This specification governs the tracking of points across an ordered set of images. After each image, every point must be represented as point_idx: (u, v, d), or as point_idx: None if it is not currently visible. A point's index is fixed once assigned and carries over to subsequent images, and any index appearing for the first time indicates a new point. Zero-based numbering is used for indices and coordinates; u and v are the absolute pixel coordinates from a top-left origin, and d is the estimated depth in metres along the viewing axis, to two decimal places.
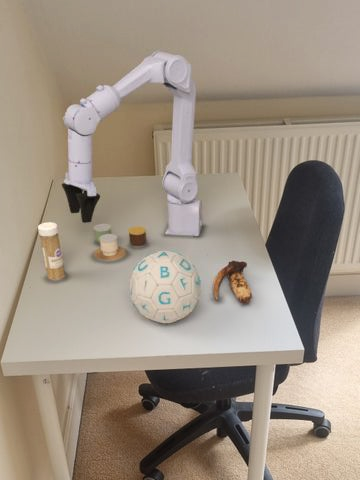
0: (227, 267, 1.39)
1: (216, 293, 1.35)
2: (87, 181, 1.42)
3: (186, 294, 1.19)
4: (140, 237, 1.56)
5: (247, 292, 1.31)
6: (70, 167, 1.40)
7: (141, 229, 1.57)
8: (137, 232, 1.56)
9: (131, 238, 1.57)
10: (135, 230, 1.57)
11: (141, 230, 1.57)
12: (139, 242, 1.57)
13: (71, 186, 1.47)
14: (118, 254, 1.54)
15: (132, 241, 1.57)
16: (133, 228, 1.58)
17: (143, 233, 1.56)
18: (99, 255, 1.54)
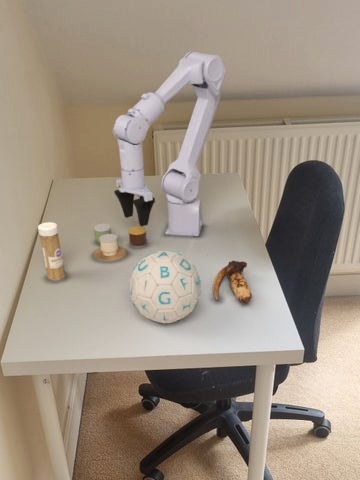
0: (227, 267, 1.39)
1: (216, 293, 1.35)
2: (141, 186, 1.48)
3: (186, 294, 1.19)
4: (140, 237, 1.56)
5: (247, 292, 1.31)
6: (124, 176, 1.46)
7: (141, 229, 1.57)
8: (137, 232, 1.56)
9: (131, 238, 1.57)
10: (135, 230, 1.57)
11: (141, 230, 1.57)
12: (139, 242, 1.57)
13: (124, 192, 1.53)
14: (118, 254, 1.54)
15: (132, 241, 1.57)
16: (133, 228, 1.58)
17: (143, 233, 1.56)
18: (99, 255, 1.54)
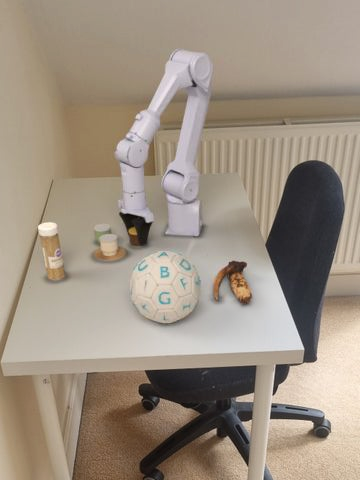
0: (227, 267, 1.39)
1: (216, 293, 1.35)
2: (143, 208, 1.51)
3: (186, 294, 1.19)
4: None
5: (247, 292, 1.31)
6: (126, 197, 1.50)
7: None
8: None
9: (131, 238, 1.57)
10: (135, 230, 1.57)
11: None
12: None
13: (128, 214, 1.56)
14: (118, 254, 1.54)
15: (132, 241, 1.57)
16: (133, 228, 1.58)
17: None
18: (99, 255, 1.54)
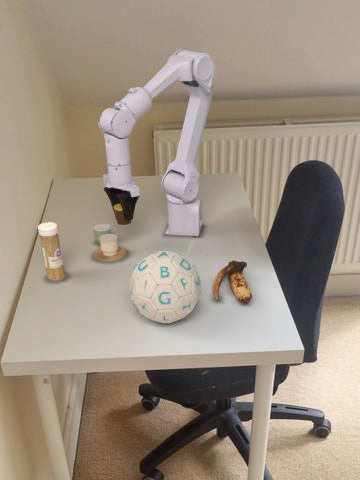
0: (227, 267, 1.39)
1: (216, 293, 1.35)
2: (128, 182, 1.45)
3: (186, 294, 1.19)
4: None
5: (247, 292, 1.31)
6: (110, 171, 1.43)
7: None
8: None
9: (116, 214, 1.50)
10: (120, 206, 1.50)
11: None
12: None
13: (113, 189, 1.49)
14: (118, 254, 1.54)
15: (117, 218, 1.51)
16: (119, 204, 1.51)
17: None
18: (99, 255, 1.54)
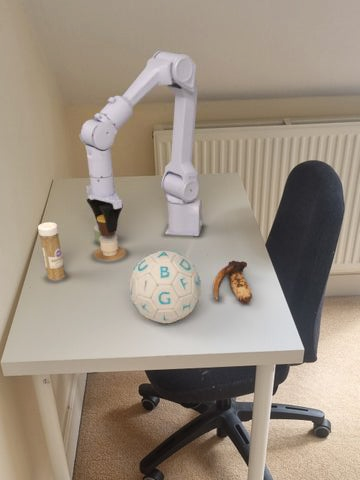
0: (227, 267, 1.39)
1: (216, 293, 1.35)
2: (111, 193, 1.43)
3: (186, 294, 1.19)
4: None
5: (247, 292, 1.31)
6: (92, 182, 1.41)
7: None
8: None
9: (99, 226, 1.49)
10: (103, 218, 1.48)
11: None
12: None
13: (96, 200, 1.48)
14: (118, 254, 1.54)
15: (101, 229, 1.49)
16: (102, 216, 1.50)
17: None
18: (99, 255, 1.54)
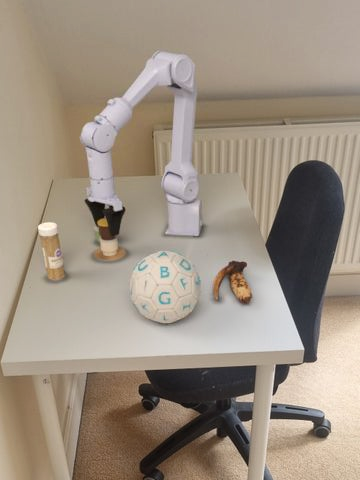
0: (227, 267, 1.39)
1: (216, 293, 1.35)
2: (111, 195, 1.43)
3: (186, 294, 1.19)
4: None
5: (247, 292, 1.31)
6: (93, 184, 1.42)
7: None
8: (106, 224, 1.48)
9: (100, 230, 1.49)
10: (104, 222, 1.49)
11: None
12: (108, 234, 1.49)
13: (94, 201, 1.49)
14: (118, 254, 1.54)
15: (101, 233, 1.50)
16: (102, 219, 1.50)
17: None
18: (99, 255, 1.54)
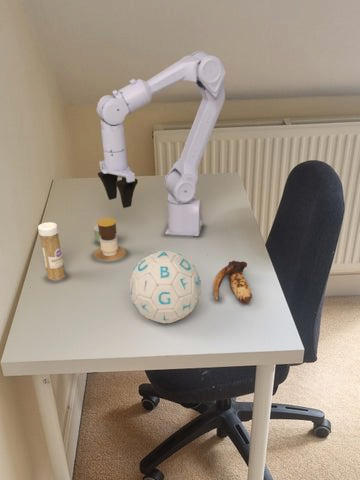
0: (227, 267, 1.39)
1: (216, 293, 1.35)
2: (123, 168, 1.49)
3: (186, 294, 1.19)
4: (109, 228, 1.48)
5: (247, 292, 1.31)
6: (106, 157, 1.47)
7: (110, 221, 1.49)
8: (106, 224, 1.48)
9: (100, 230, 1.49)
10: (104, 222, 1.49)
11: (110, 222, 1.49)
12: (108, 234, 1.49)
13: (107, 174, 1.54)
14: (118, 254, 1.54)
15: (101, 233, 1.50)
16: (102, 219, 1.50)
17: (112, 225, 1.48)
18: (99, 255, 1.54)
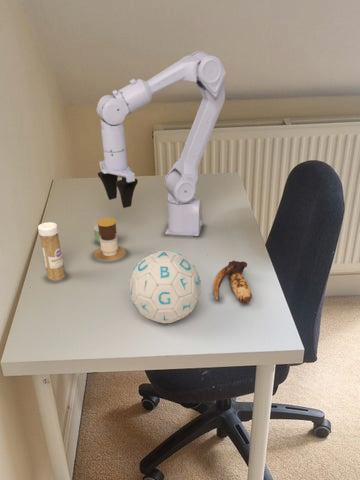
0: (227, 267, 1.39)
1: (216, 293, 1.35)
2: (123, 168, 1.49)
3: (186, 294, 1.19)
4: (109, 228, 1.48)
5: (247, 292, 1.31)
6: (106, 157, 1.47)
7: (110, 221, 1.49)
8: (106, 224, 1.48)
9: (100, 230, 1.49)
10: (104, 222, 1.49)
11: (110, 222, 1.49)
12: (108, 234, 1.49)
13: (107, 174, 1.54)
14: (118, 254, 1.54)
15: (101, 233, 1.50)
16: (102, 219, 1.50)
17: (112, 225, 1.48)
18: (99, 255, 1.54)
